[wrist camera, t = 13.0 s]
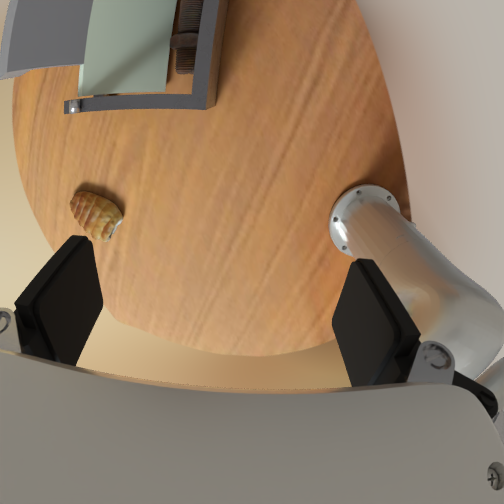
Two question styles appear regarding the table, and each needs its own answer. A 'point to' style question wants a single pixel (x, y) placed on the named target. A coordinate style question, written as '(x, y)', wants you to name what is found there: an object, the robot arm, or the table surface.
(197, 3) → the bolt
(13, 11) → the trapdoor
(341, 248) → the robot arm
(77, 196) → the pastry
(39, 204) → the table surface
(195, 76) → the frame
